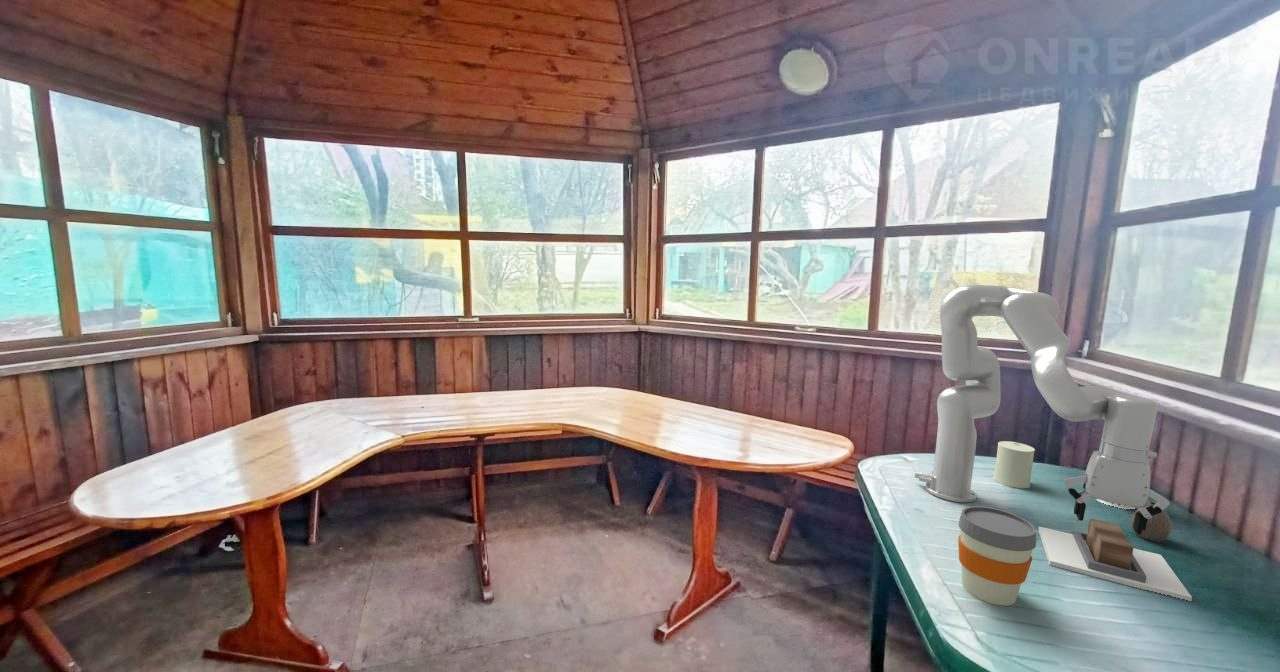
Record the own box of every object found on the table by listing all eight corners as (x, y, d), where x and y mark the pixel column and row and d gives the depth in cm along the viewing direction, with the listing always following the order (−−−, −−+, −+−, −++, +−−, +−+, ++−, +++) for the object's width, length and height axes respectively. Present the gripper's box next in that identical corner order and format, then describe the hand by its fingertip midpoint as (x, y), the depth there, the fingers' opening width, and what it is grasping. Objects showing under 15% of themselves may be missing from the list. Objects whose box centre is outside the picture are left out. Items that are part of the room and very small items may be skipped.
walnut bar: (1085, 542, 119) (1089, 518, 118) (1114, 549, 117) (1118, 524, 116) (1097, 566, 109) (1101, 540, 108) (1128, 574, 106) (1133, 548, 106)
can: (1028, 480, 157) (1033, 443, 155) (1031, 491, 149) (1037, 452, 148) (992, 473, 162) (997, 437, 160) (994, 483, 154) (999, 445, 153)
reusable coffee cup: (956, 564, 110) (964, 499, 108) (1028, 589, 102) (1038, 519, 100) (946, 592, 100) (955, 521, 98) (1025, 621, 93) (1037, 545, 90)
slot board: (1049, 564, 111) (1051, 554, 111) (1038, 530, 126) (1039, 520, 126) (1191, 601, 100) (1193, 590, 99) (1160, 558, 115) (1161, 548, 114)
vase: (1177, 546, 120) (1183, 512, 119) (1143, 542, 122) (1149, 508, 121) (1154, 532, 127) (1160, 499, 126) (1122, 528, 128) (1128, 495, 127)
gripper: (1172, 456, 108) (1155, 529, 111) (1068, 438, 117) (1055, 506, 120) (1185, 468, 102) (1167, 545, 105) (1074, 447, 111) (1060, 519, 114)
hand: (1107, 524), depth 112 cm, fingers open, 9 cm apart
